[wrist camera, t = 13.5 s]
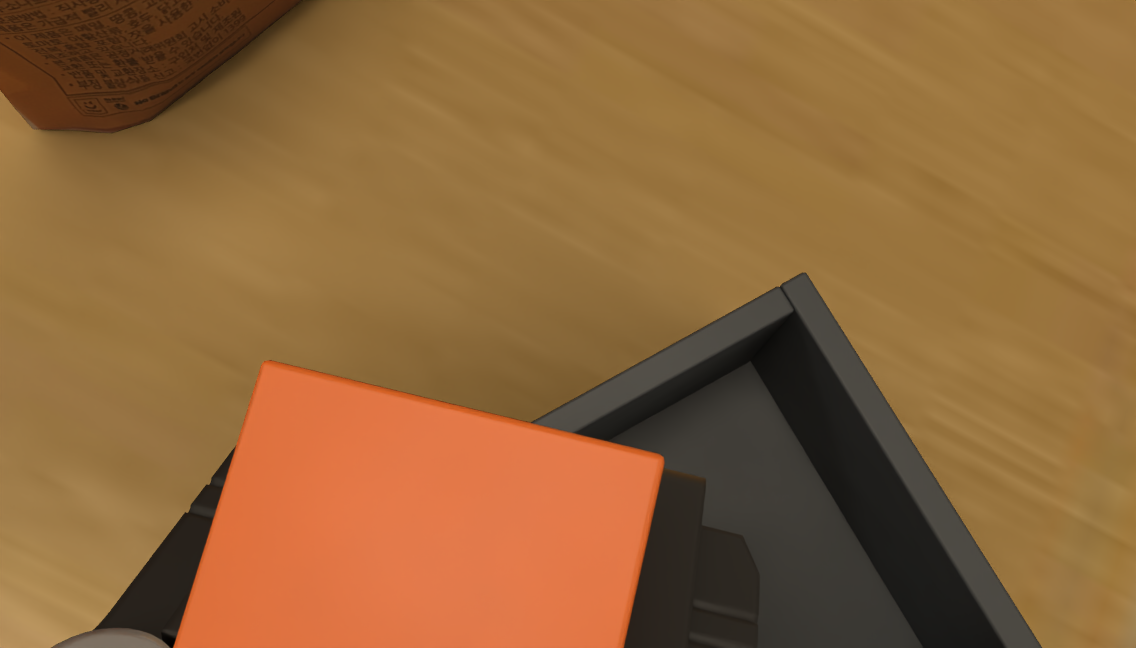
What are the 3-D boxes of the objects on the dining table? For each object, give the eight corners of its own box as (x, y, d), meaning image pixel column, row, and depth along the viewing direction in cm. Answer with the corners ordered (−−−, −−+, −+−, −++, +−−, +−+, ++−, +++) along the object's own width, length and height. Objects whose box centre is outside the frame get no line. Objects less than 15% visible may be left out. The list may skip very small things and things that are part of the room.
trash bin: (564, 896, 30) (548, 1040, 22) (386, 538, 33) (311, 543, 24) (956, 664, 31) (1086, 716, 23) (755, 333, 34) (805, 270, 25)
